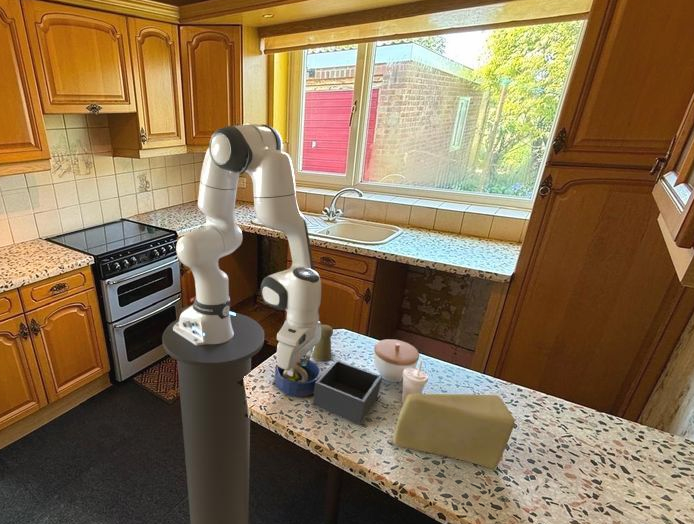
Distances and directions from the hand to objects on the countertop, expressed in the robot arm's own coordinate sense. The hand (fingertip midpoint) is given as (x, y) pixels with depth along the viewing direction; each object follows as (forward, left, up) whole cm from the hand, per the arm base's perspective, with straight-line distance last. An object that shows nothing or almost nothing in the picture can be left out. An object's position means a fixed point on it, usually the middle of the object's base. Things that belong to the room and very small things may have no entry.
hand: (298, 367), depth 116 cm
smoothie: (+29, +11, -6) cm, 32 cm away
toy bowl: (0, 0, -6) cm, 6 cm away
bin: (+15, +1, -6) cm, 16 cm away
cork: (-1, +18, -6) cm, 19 cm away
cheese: (+40, -2, -6) cm, 41 cm away
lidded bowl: (+21, +21, -6) cm, 30 cm away
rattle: (0, 0, -6) cm, 6 cm away
